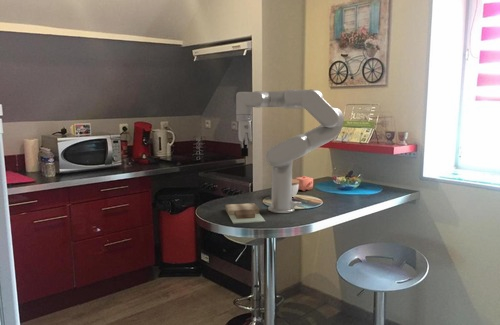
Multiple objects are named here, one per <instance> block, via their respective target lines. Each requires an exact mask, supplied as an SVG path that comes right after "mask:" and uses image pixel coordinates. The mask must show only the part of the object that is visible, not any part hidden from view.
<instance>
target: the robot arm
mask: <svg viewBox="0 0 500 325" xmlns="http://www.w3.org/2000/svg"><path fill="white" fill-rule="evenodd" d="M235 95H236V96H235V97H236V98H235V102H236V105H235V106H236V107H235V109H236V111H235V112H236V113H235V114H236V117H235V118H236V122H238V126H237V127H238V141H239V142H240V156H241V157H242V158H243V157H248V156H249V143H251V142H252V141H253V140H252V139H253V137H252V123H251V122H252V121H253V108H260V109H261V108H284V109H287V110H288V109H290V110H295V109H296V110H298V109H299V110H301V109H302V110H306V112H308V113H309V114H310V115H311V116H312V118H314V119H315V120H316V121H317V122H318V123H319V124H320V125H318V126H316V127H314V128H312V129H311V130H308V131H307V132H304V133H301V134H296V135H294V136H291V137H290V138H287V139H286V140H283V141H281V142H279V143H278V144H275V145H274V146H273V145H272V146H271V147H270V148H269V149H268V150H267V151H266V154H265V160H266V162H267V164H269V165H270V166H271V167H272V168H271V205H269V206H268V207H267V208H268V211H270V212H271V213H275V214H289V213H293V212H295V211H296V209H295V208H296V207H302V204H303V203H302V201H297V200H296V201H293V198H292V179H293V164H294V161H296V160H297V159H300V158H301V157H304V156H305V155H307V154H309V153H310V152H312V151H314V150H316V149H319V147H322V146H323V145H325V144H328V143H330V142H331V141H333V140H335V138H337V137H338V136H339V134H340V133H341V131H342V129H343V125H344V118H345V117H344V114H343V112H342V110H341V109H339V108H337V107H334V106H333V107H332V105H330V103H328V102H327V101H326V100H325V99H324V95H323V93H322V92H321V91H320V90H318V89H286V90H282V91H281V90H279V91H266V90H265V91H262V90H257V91H238V92H236V94H235Z"/></svg>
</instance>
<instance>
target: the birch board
mask: <svg viewBox="0 0 500 325" xmlns="http://www.w3.org/2000/svg"><path fill="white" fill-rule="evenodd" d="M240 210H252V211H253V212H254V213H255V214H260V208H259V207H258V206H257V205H256V204H255V203H254V202H253V203H252V202H251V203H231V204H225V211H226V214H227V215H228V216H229V215H235V211H240Z"/></svg>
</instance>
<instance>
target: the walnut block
mask: <svg viewBox="0 0 500 325" xmlns="http://www.w3.org/2000/svg"><path fill="white" fill-rule="evenodd" d="M235 216H236V218H237V219H244V218H255V213H254V212H253V211H252V210H240V211H235Z"/></svg>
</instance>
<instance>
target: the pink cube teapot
mask: <svg viewBox="0 0 500 325" xmlns="http://www.w3.org/2000/svg"><path fill="white" fill-rule="evenodd" d="M294 179H296V180H299V188H298V191H302V192H306V190H307V191H311V189H314V178H313V177H309V176H306V175H302V176H300V177H295V178H294Z"/></svg>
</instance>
